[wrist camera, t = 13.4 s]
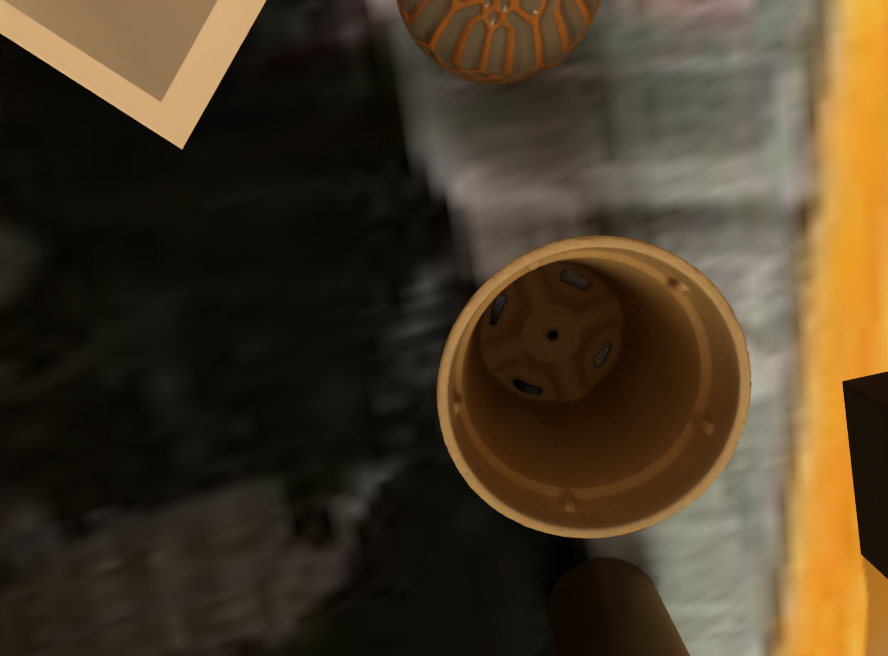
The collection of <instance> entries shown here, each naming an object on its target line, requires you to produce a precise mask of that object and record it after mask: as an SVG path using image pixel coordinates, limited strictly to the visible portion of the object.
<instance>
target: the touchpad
mask: <svg viewBox="0 0 888 656" xmlns="http://www.w3.org/2000/svg"><path fill="white" fill-rule="evenodd" d="M265 2H266V0H0V33H1V34H2V35H4V36H6V37H7V38H9V39H10V40H12V41H13V42H15V43H16V44H18V45H20V46H21V47H23V48H24V49H26V50H27V51H29V52H31V53H32V54H34V55H35V56H37V57H38V58H40V59H42V60H43V61H45V62H46V63H48V64H49V65H51V66H52V67H54V68H56V69H57V70H59V71H60V72H62V73H63V74H65V75H67V76H68V77H70V78H71V79H73V80H74V81H76V82H77V83H79V84H81V85H82V86H84V87H85V88H87V89H88V90H90V91H92V92H93V93H95V94H96V95H98V96H99V97H101V98H103V99H104V100H106V101H107V102H109V103H110V104H112V105H113V106H115V107H117V108H118V109H120V110H121V111H123V112H124V113H126V114H128V115H129V116H131V117H132V118H134V119H135V120H137V121H138V122H140V123H142V124H143V125H145V126H146V127H148V128H149V129H151V130H153V131H154V132H156V133H157V134H159V135H160V136H162V137H163V138H165V139H167V140H168V141H170V142H171V143H173V144H174V145H176V146H178V147H179V148H181V149H183V147H184V145H185V143H186V142H187V140H188V138H189V136H190V134H191V133H192V131H193V129H194V127H195V126H196V124H197V122H198V120H199V119H200V117H201V115H202V113H203V111H204V110H205V108H206V106H207V104H208V103H209V101H210V99H211V97H212V96H213V94H214V92H215V90H216V88H217V87H218V85H219V83H220V81H221V80H222V78H223V76H224V74H225V73H226V71H227V69H228V67H229V65H230V64H231V62H232V60H233V58H234V57H235V55H236V53H237V51H238V50H239V48H240V46H241V44H242V42H243V41H244V39H245V37H246V35H247V34H248V32H249V30H250V28H251V27H252V25H253V23H254V21H255V19H256V18H257V16H258V14H259V12H260V11H261V9H262V7H263V5H264V4H265Z"/></svg>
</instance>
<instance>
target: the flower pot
mask: <svg viewBox="0 0 888 656" xmlns="http://www.w3.org/2000/svg"><path fill="white" fill-rule="evenodd" d="M568 270H569V271H572V272H574V273H576V274H578V275H579V276H581V277H582V278H584V279H586V280H587V281H588V282H589V283H590V286H589V287H588V288H587V289H586V290H582V289H580V288H578V287H575V286H573V285H571V284H570V283H567V282H565V281H564V282H562V281H561V275H562V273H563V272H564V271H568ZM499 295H501V296H505V297H506V299H507V303H506V305H505V306H504V307H503V309H502V311H501V313H500V316H499V319H498V322H497V323H496V324H495V325H492V324H490V321H491V312H492V309H493V306H494V303H495V300H496V298H497V297H498V296H499ZM552 330H555V331H556V332H557V338H555V339H553V340H549V339H548V337H547V333H548V331H552ZM606 343H609V344H611V346H610V348H609V351H608V354H607V356H606V358H605V360H604V362H603V363H602V364H601V365H600V366H597V367H595V364H594V363H595V362H596V360H597V358H598V354H597V351H598V352H600V350H602V347H603V346H604V344H606ZM514 379H519V380H521V381H523V382H526V383H528V384H531V385H533V386H536V387H540V388H541V393H540V394H528V393H526V392H524V391H520V390H519V389H517V388H516V387H515V386H514V384H513V380H514ZM751 385H752V383H751V366H750V360H749V353H748V350H747V345H746V341H745V337H744V334H743V331H742V329H741V327H740V324H739V322H738V320H737V318H736V317H735V315H734V312H733V310H732V308H731V307H730V305H729V304H728V302H727V301H726V299H725V298H724V296H723V295H722V294H721V293H720V291H719V290H718V289H717V287H716V286H715V285H714V284H713V283H712V282H711V281H710V280H709V279H708V278H707V277H706V276H705V275H704V274H702V273H701V272H700V271H699V270H698V269H697V268H695V267H694V266H692V265H691V264H689V263H688V262H687V261H686V260H684V259H682V258H680V257H678V256H677V255H674V254H673V253H671V252H669V251H667V250H665V249H663V248H661V247H658V246H655V245H652V244H650V243H647V242H643V241H640V240H636V239H630V238H624V237H616V236H597V235H594V236H582V237H574V238H569V239H564V240H560V241H556V242H553V243H549V244H546V245H544V246H541V247H538V248H536V249H534V250H532V251H530V252H528V253H526V254H524V255H522V256H520V257H518V258H516V259H515V260H513V261H512V262H510V263H509V264H507V265H506V266H505V267H503V268H502V269H501V270H499V271H498V272H497V273H496V274H494V275H493V276H492V277H490V278H489V279H488V280H487V281H486V282H485V283H484V284H483V285H482V286H481V287H480V288H479V289H478V290H477V292H476V293H475V294H474V295H473V296H472V297H471V299H470V300H469V302H468V303H467V304H466V306H465V307H464V308H463V310H462V311H461V313H460V315H459V316H458V318H457V320H456V322H455V323H454V325H453V327H452V329H451V332H450V334H449V336H448V339H447V341H446V344H445V348H444V351H443V355H442V358H441V362H440V367H439V373H438V381H437V405H438V415H439V420H440V426H441V430H442V433H443V437H444V442H445V444H446V446H447V448H448V451H449V453H450V455H451V457H452V459H453V461H454V463H455V465H456V467H457V468H458V470H459V472H460V473H461V475H462V476H463V477H464V479H465V480H466V482H467V483H468V484H469V486H470V487H471V488H472V489H473V490H474V491H475V492H476V493H477V494H478V495H479V496H480V497H481V498H482V499H483V500H484V501H485V502H487V503H488V504H489V505H490V506H491V507H493V508H494V509H495V510H497V511H498V512H500V513H502V514H503V515H504V516H506V517H508V518H510V519H512V520H514V521H516V522H518V523H520V524H522V525H524V526H525V527H530V528H533V529H535V530H538V531H542V532H545V533H549V534H554V535H558V536H563V537H573V538H602V537H611V536H617V535H624V534H628V533H631V532H634V531H638V530H641V529H644V528H646V527H649V526H652V525H654V524H656V523H658V522H660V521H662V520H664V519H667V518H669V517H671V516H672V515H674V514H677V513H678V512H679V511H680V510H682V509H683V508H685V507H686V506H687V505H689V504H690V503H691V502H693V501H694V500H695V499H697V498H698V496H699V495H701V494H702V493H703V492H704V491H705V490H706V489H707V488H708V487H709V486H710V485H711V484H712V482H713V481H714V480H715V479H716V478H717V476H718V475H719V474H720V472H721V471H722V470H723V469H724V467H725V466H726V465H727V463H728V461H729V459H730V457H731V456H732V454H733V452H734V451H735V449H736V446H737V444H738V440H739V437H740V436H741V435H742V430H743V426H744V424H745V422H746V417H747V413H748V408H749V404H750V394H751Z"/></svg>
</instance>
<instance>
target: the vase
mask: <svg viewBox="0 0 888 656" xmlns="http://www.w3.org/2000/svg"><path fill="white" fill-rule="evenodd" d="M396 1H397V5H398V8H399V11H400V14H401V16H402V19H403V21H404V23H405V25H406V28H407V29H408V31H409V33H410V35H411V36H412V38H413V39H414V41H415V42H416V44H417V45H418V46H419V47H420V49H421V50H422V51H423V52H424V53H425V54H426V55H427V56H428V57H429V58H430V59H431V60H432V61H433V62H435V63H436V64H437V65H438V66H440V67H441V68H443V69H444V70H446V71H447V72H449V73H451V74H453V75H455V76H457V77H459V78H462V79H465V80H467V81H471V82H475V83H480V84H489V85H499V84H510V83H515V82H520V81H523V80H527V79H530V78H532V77H535V76H537V75H539V74H541V73H543V72H545V71H546V70H548V69H550V68H551V67H553V66H554V65H556V64H557V63H558V62H560V61H561V60H562V59H563V58H565V57H566V56H567V55H568V54H569V53H570V52H571V51H572V50H573V49H574V48H575V46H576V45H577V44H578V43H579V42H580V40H581V39H582V38H583V36H584V35H585V34H586V32H587V31H588V29H589V27H590V26H591V24H592V22H593V20H594V18H595V16H596V14H597V11H598V9H599V6H600V3H601V0H396Z"/></svg>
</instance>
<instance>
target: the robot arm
mask: <svg viewBox="0 0 888 656" xmlns="http://www.w3.org/2000/svg"><path fill="white" fill-rule="evenodd" d="M842 383H843V392H844V401H845V410H846V420H847V429H848V438H849V447H850V456H851V466H852V475H853V484H854V493H855V503H856V512H857V521H858V530H859V539H860V549H861V555H863V556H864V557H865V558H866V559H867V560H868V561H869V562H870V563H871V564H872V565H873V566H874V567H875V568H876V569H878V570H879V571H880V572H881V573H882V574H883V575H884V576H885V577H886V578H887V579H888V372H884V373H879V374H874V375H870V376H865V377H860V378H856V379H851V380H847V381H842Z"/></svg>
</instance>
